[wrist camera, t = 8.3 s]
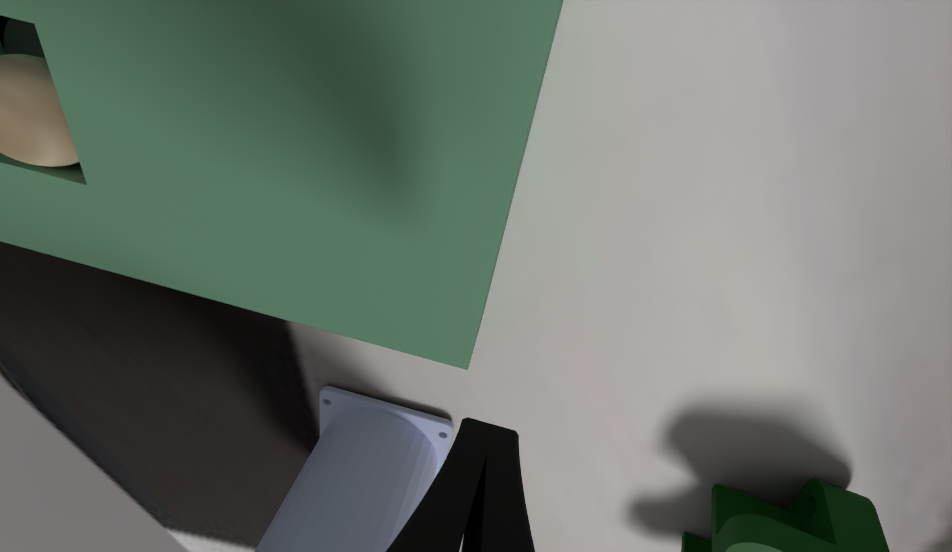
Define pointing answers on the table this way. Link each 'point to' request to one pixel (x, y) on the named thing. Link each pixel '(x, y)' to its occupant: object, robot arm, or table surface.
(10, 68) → the maple ball
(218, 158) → the putting board
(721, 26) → the table surface
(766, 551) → the clamp
